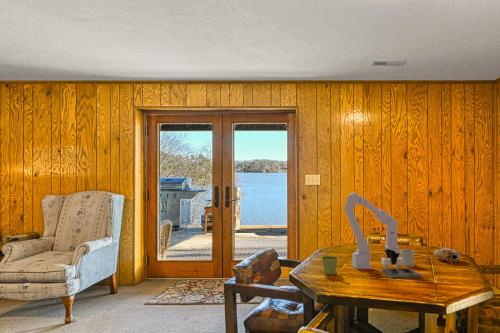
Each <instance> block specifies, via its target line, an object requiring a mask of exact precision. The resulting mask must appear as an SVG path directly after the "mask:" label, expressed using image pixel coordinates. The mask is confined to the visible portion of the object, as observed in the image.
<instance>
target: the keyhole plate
mask: <svg viewBox="0 0 500 333" xmlns="http://www.w3.org/2000/svg"><path fill="white" fill-rule="evenodd" d="M381 273H383V274H384V275H386V276H388V277H389V278H390V279H413V278H414V279H416V278H417V279H418V278H422V274H421V273H419V272H417V271H415V270H413V269H411V267H404V268H401V267H400V268H397V267H395V268H381Z"/></svg>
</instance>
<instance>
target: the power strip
mask: <svg viewBox="0 0 500 333" xmlns="http://www.w3.org/2000/svg"><path fill="white" fill-rule="evenodd" d="M380 260H381V265H383V267H384V269H389V266H395V268H401V266H402V265H403V259H402V258H401V257H399V258H397V262H396V264H392V263H391V258H387V257H381V259H380Z"/></svg>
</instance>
